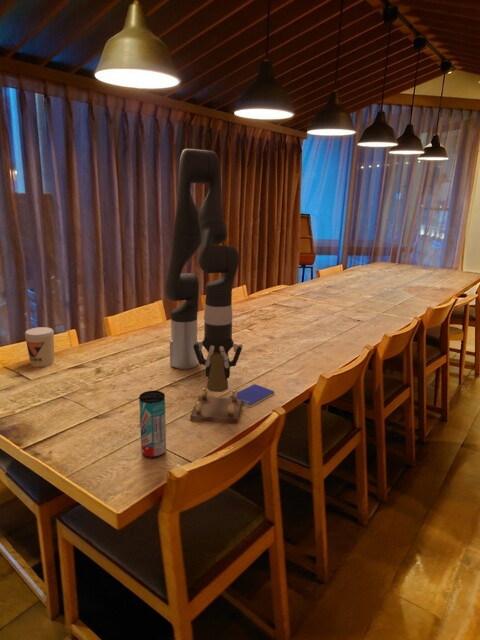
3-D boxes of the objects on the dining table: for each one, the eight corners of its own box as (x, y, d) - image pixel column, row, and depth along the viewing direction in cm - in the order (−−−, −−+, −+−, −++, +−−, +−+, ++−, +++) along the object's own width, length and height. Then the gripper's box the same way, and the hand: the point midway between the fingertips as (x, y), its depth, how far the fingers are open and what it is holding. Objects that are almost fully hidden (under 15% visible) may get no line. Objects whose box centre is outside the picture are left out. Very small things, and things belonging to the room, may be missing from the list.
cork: (203, 384, 129) (204, 348, 126) (223, 381, 131) (224, 346, 128) (211, 393, 123) (211, 355, 120) (231, 390, 126) (232, 353, 123)
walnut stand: (190, 420, 124) (190, 404, 123) (198, 400, 136) (198, 385, 134) (237, 424, 123) (237, 407, 122) (241, 403, 135) (241, 388, 133)
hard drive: (250, 404, 132) (274, 391, 142) (229, 395, 137) (253, 383, 147) (249, 409, 133) (274, 395, 142) (228, 400, 138) (253, 387, 147)
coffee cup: (22, 365, 158) (18, 332, 155) (41, 356, 167) (38, 325, 163) (43, 369, 155) (39, 336, 152) (62, 360, 164) (59, 328, 160)
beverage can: (145, 444, 112) (143, 389, 108) (168, 446, 112) (167, 391, 108) (138, 458, 107) (135, 400, 102) (162, 460, 106) (161, 402, 102)
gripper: (245, 317, 125) (244, 375, 130) (195, 315, 126) (195, 371, 131) (243, 325, 118) (241, 385, 122) (189, 322, 119) (189, 382, 124)
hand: (217, 378), depth 127 cm, fingers closed on cork, 4 cm apart
